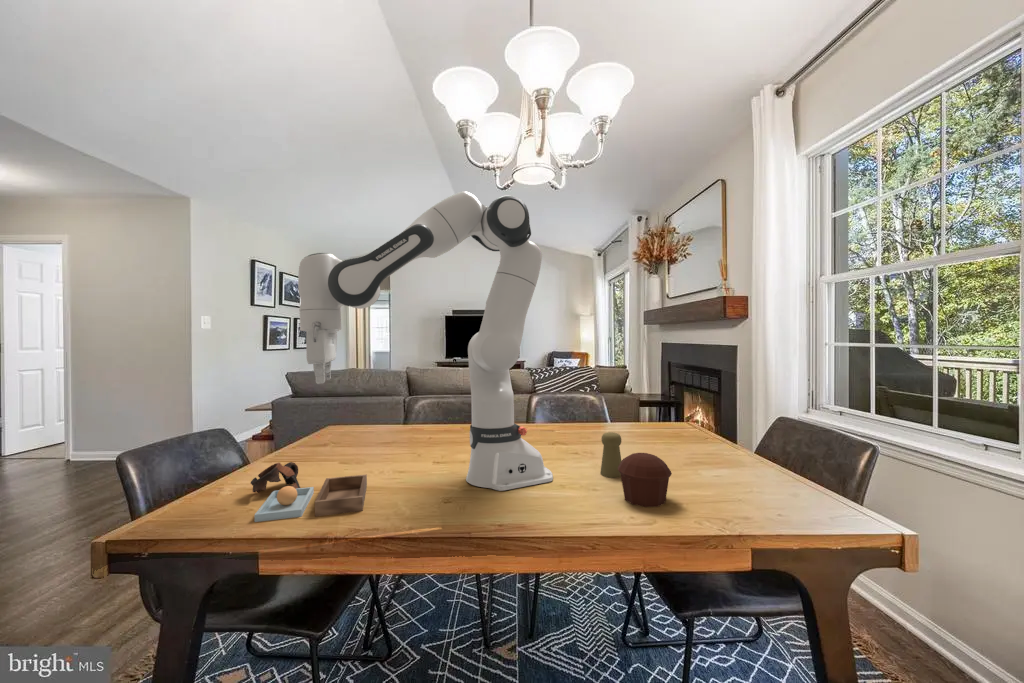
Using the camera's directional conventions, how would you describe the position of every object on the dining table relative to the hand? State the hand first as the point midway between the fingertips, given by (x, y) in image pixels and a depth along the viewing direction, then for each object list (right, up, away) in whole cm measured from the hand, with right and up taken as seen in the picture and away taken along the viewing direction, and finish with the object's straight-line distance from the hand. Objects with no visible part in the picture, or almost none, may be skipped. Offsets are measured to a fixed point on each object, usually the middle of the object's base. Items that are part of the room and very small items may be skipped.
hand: (323, 381), depth 99 cm
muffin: (+74, -26, -5) cm, 79 cm away
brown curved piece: (-12, -27, +3) cm, 30 cm away
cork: (+71, -26, +13) cm, 77 cm away
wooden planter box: (+6, -27, -5) cm, 28 cm away
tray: (-5, -27, -8) cm, 28 cm away
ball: (-5, -26, -8) cm, 28 cm away
